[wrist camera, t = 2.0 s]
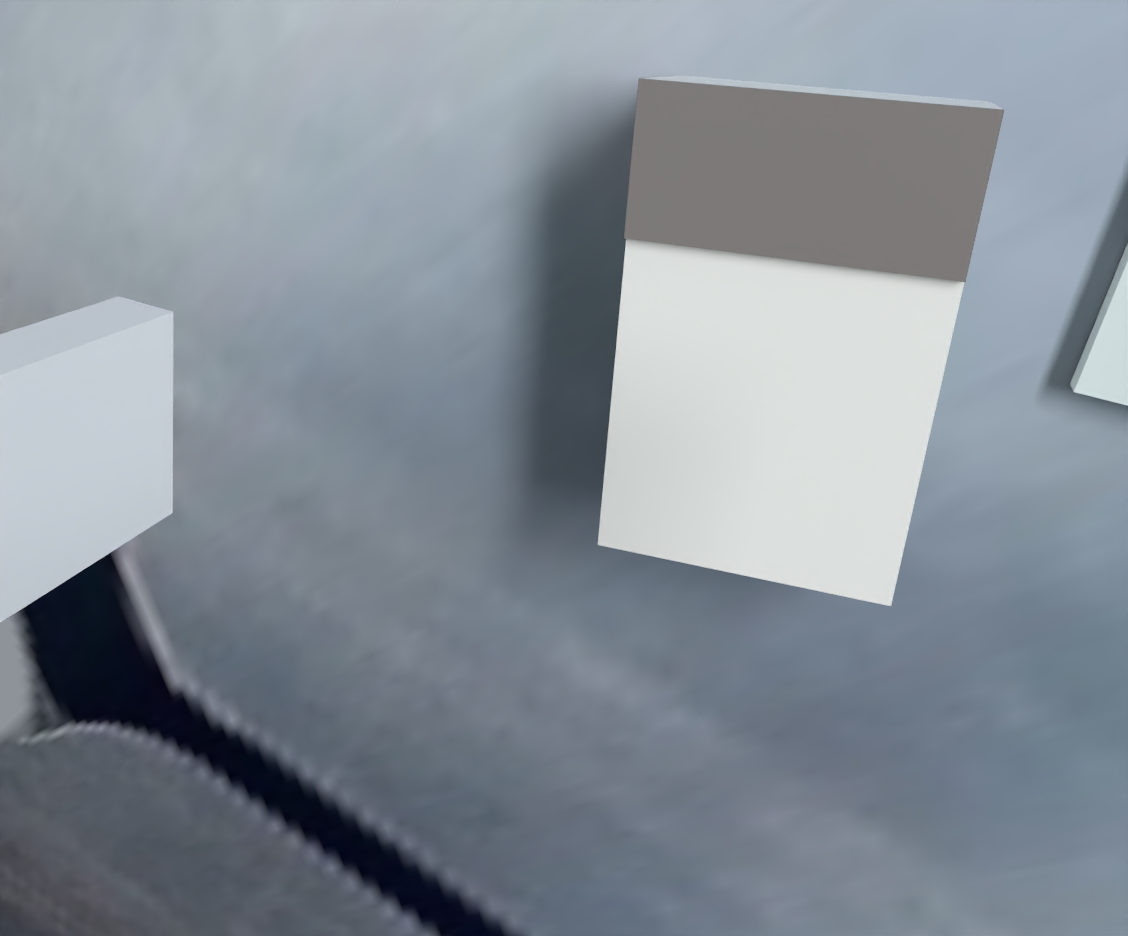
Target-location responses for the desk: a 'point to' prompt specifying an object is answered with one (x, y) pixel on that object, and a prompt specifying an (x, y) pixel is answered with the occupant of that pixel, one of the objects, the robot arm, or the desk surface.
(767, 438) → the card deck box
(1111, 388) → the mat
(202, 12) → the desk surface
